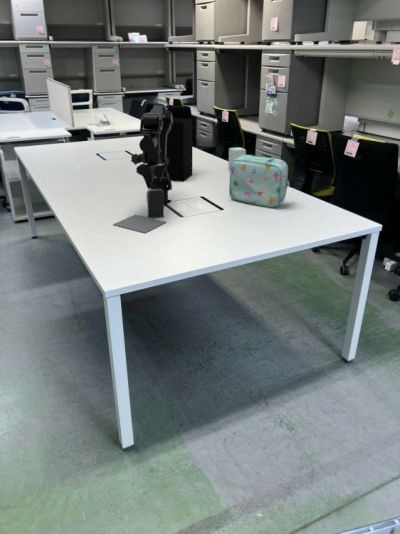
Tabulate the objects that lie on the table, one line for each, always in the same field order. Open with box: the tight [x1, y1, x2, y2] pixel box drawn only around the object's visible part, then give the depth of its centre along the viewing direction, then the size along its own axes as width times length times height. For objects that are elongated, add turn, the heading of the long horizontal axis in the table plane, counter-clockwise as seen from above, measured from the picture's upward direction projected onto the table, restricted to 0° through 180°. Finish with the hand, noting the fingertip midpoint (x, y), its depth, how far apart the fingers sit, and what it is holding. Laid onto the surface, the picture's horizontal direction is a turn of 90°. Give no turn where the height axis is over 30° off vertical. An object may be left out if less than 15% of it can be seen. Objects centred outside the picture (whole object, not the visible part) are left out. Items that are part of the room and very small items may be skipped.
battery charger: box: [146, 189, 165, 218], centre depth 179 cm, size 7×4×11 cm, turn 111°
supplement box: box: [227, 146, 247, 170], centre depth 250 cm, size 7×7×13 cm
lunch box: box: [228, 154, 290, 208], centre depth 196 cm, size 27×10×21 cm, turn 59°
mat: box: [112, 213, 168, 234], centre depth 174 cm, size 14×16×1 cm
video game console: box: [166, 117, 194, 182], centre depth 231 cm, size 15×15×30 cm
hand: (154, 185), depth 180 cm, fingers open, 9 cm apart
